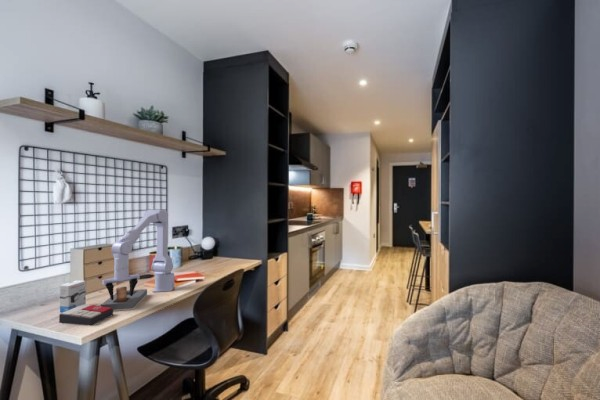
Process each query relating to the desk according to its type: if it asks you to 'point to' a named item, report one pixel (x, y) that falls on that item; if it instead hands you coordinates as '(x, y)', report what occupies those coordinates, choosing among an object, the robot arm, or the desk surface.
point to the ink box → (72, 295)
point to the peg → (121, 294)
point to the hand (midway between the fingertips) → (121, 297)
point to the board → (129, 304)
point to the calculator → (85, 314)
